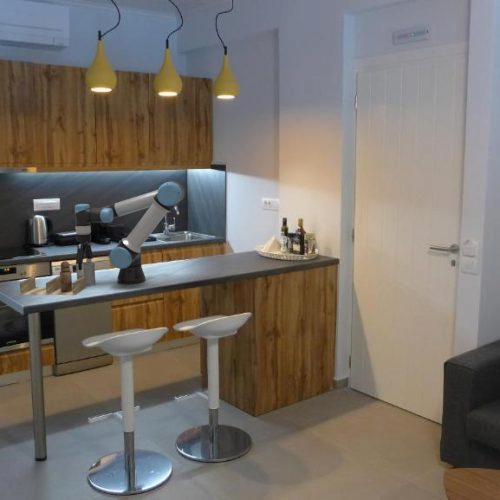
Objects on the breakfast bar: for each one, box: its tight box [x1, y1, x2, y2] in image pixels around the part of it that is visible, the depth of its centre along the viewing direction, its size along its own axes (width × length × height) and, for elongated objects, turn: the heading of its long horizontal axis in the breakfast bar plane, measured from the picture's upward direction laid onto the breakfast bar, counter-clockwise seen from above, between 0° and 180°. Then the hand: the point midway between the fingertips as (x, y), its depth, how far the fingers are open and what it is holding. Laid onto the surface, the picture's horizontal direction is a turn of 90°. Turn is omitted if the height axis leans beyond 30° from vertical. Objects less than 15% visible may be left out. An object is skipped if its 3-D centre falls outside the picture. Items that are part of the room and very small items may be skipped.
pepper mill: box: [59, 260, 73, 292], centre depth 315 cm, size 6×6×16 cm
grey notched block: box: [75, 261, 96, 288], centre depth 330 cm, size 10×10×12 cm
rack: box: [19, 275, 87, 296], centre depth 316 cm, size 28×16×7 cm, turn 86°
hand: (85, 273), depth 329 cm, fingers open, 13 cm apart
